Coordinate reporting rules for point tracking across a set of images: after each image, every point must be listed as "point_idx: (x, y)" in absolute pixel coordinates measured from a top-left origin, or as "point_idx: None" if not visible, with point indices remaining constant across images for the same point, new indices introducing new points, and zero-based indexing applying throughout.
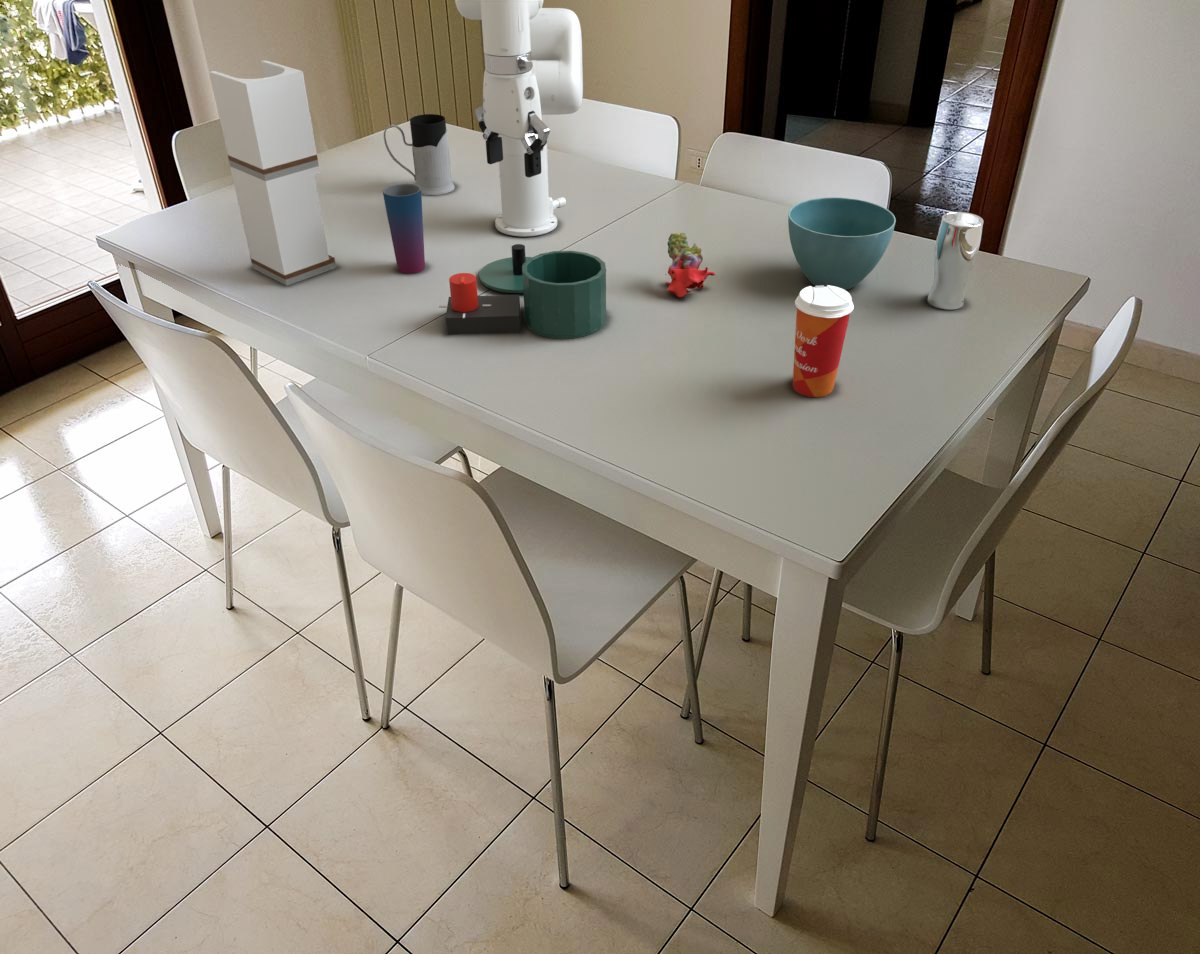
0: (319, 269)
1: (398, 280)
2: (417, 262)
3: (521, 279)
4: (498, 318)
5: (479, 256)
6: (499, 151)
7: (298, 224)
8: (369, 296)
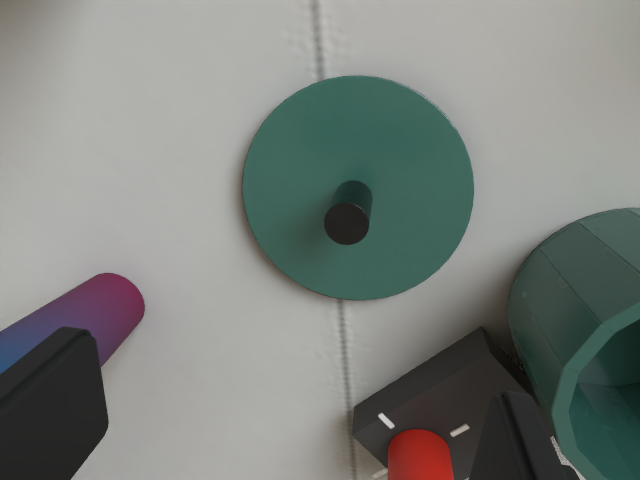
0: None
1: (150, 355)
2: (132, 322)
3: (388, 228)
4: None
5: (163, 151)
6: (48, 408)
7: None
8: (175, 429)
